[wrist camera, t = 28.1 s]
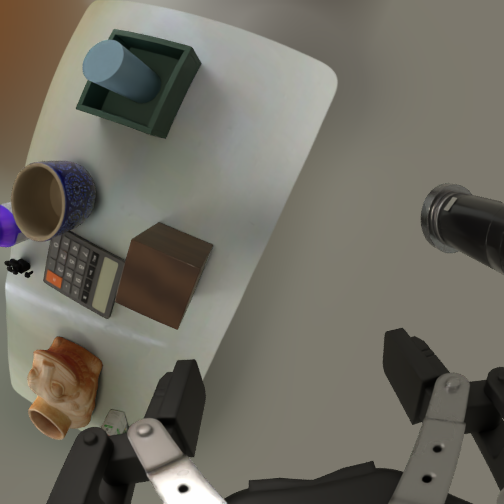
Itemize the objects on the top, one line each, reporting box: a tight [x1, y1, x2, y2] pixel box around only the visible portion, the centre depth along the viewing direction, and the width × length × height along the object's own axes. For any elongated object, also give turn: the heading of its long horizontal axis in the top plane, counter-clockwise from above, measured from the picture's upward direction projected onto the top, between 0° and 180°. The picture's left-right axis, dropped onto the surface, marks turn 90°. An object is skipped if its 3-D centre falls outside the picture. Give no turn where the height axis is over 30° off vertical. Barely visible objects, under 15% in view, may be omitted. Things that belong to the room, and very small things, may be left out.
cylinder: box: [83, 40, 161, 103], centre depth 32 cm, size 5×5×14 cm
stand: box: [115, 222, 213, 330], centre depth 41 cm, size 9×9×11 cm
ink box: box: [101, 409, 129, 436], centre depth 50 cm, size 4×8×15 cm, turn 177°
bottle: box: [0, 202, 29, 247], centre depth 37 cm, size 7×6×17 cm
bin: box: [76, 29, 201, 138], centre depth 36 cm, size 13×13×7 cm
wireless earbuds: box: [5, 259, 33, 278], centre depth 45 cm, size 7×2×5 cm, turn 68°
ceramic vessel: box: [27, 337, 103, 440], centre depth 47 cm, size 14×26×15 cm, turn 156°
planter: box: [11, 161, 96, 242], centre depth 39 cm, size 11×11×11 cm
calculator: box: [43, 231, 125, 319], centre depth 47 cm, size 12×1×15 cm
